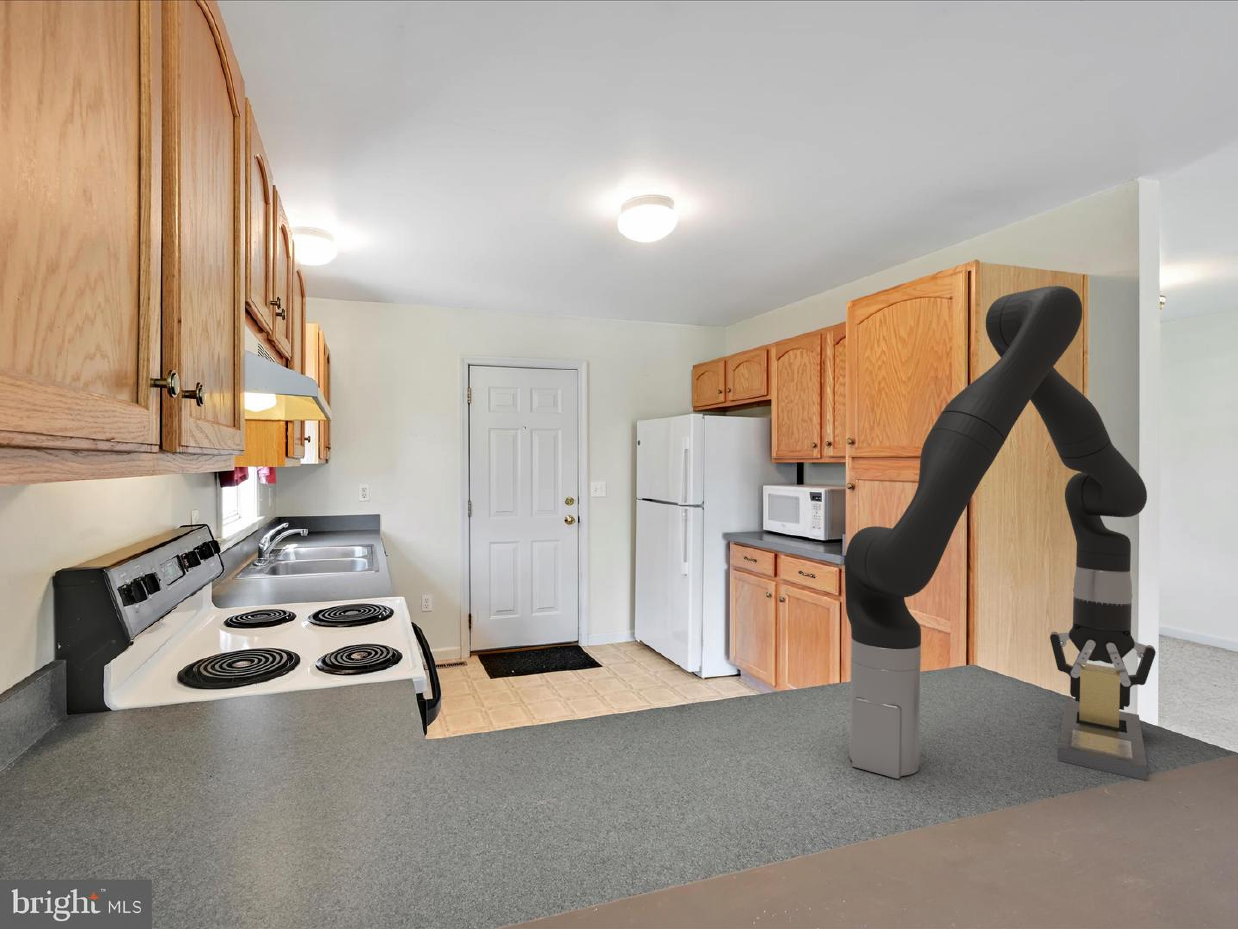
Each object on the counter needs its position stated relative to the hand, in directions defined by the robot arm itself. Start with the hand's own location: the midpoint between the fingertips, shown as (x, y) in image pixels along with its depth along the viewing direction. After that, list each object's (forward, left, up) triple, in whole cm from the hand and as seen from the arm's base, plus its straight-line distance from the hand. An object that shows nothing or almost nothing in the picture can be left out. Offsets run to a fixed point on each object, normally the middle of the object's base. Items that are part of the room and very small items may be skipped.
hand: (1099, 703), depth 106 cm
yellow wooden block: (0, 0, -2) cm, 2 cm away
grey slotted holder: (-4, 0, -5) cm, 6 cm away
